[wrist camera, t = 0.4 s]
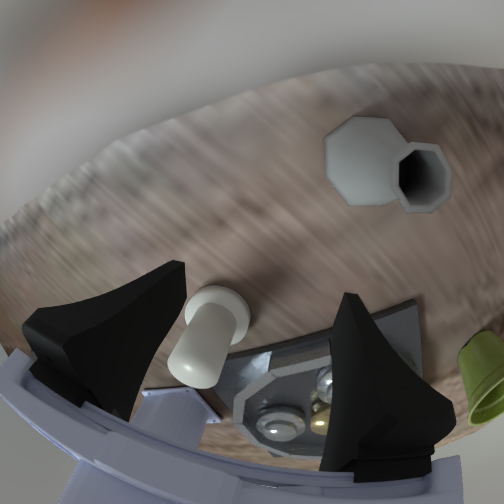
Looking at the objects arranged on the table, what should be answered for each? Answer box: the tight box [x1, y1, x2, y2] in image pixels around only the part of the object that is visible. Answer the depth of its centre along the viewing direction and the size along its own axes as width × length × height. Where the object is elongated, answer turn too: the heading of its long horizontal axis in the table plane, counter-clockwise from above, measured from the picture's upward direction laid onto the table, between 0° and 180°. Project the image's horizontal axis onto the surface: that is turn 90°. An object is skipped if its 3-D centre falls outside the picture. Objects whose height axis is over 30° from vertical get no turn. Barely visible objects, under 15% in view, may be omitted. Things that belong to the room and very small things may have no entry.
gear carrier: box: [211, 299, 423, 460], centre depth 27 cm, size 24×24×4 cm
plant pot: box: [458, 330, 504, 426], centre depth 19 cm, size 9×9×9 cm
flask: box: [324, 116, 452, 213], centre depth 14 cm, size 7×7×10 cm
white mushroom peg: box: [168, 285, 251, 389], centre depth 22 cm, size 6×6×8 cm
